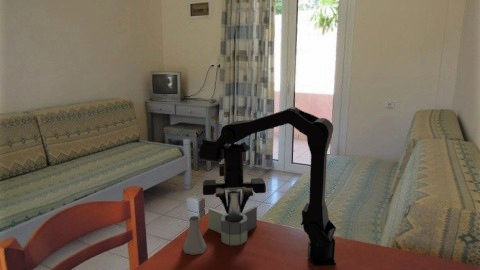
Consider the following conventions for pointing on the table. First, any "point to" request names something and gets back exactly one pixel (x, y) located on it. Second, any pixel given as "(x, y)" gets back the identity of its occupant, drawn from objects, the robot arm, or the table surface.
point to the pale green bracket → (227, 239)
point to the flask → (194, 238)
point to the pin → (234, 204)
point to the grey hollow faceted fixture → (240, 222)
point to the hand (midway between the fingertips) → (234, 212)
